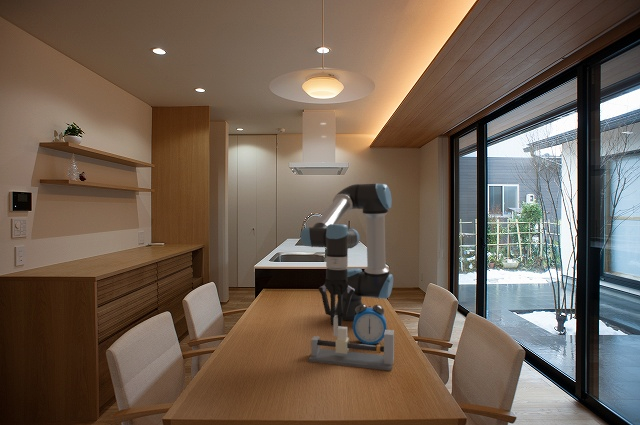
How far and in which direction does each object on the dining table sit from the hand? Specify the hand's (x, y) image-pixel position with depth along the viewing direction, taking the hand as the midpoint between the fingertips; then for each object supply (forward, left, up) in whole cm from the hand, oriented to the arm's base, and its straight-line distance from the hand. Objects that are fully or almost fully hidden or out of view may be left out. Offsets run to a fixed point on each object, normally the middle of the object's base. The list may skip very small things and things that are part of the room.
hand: (336, 334), depth 132 cm
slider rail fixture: (0, +5, -8) cm, 10 cm away
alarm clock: (-19, +9, -9) cm, 23 cm away
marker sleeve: (0, +2, -6) cm, 6 cm away
